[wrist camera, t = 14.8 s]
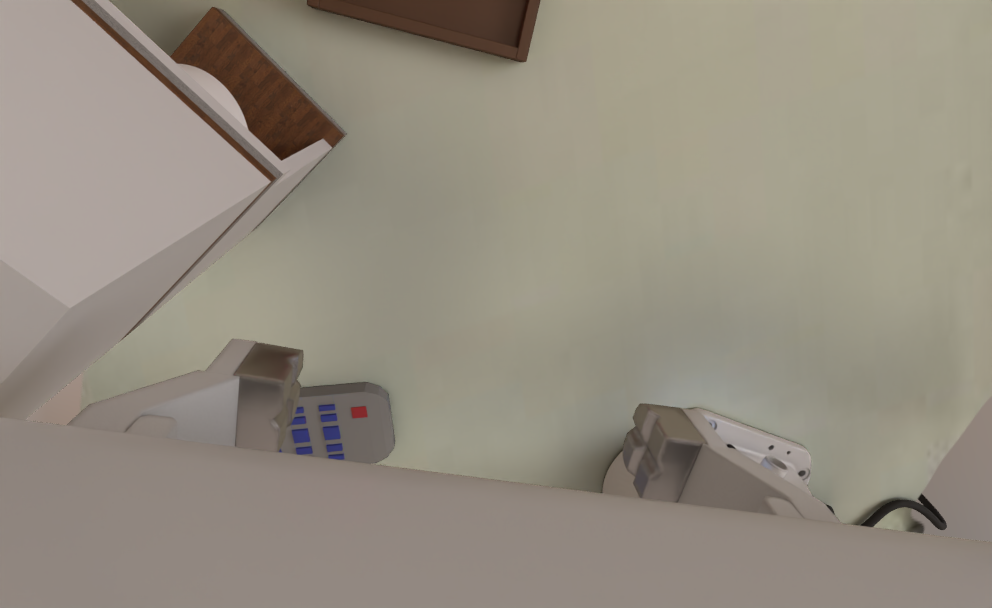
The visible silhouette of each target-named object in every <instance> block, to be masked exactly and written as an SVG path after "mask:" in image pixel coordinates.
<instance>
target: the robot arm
mask: <svg viewBox="0 0 992 608" xmlns="http://www.w3.org/2000/svg"><path fill="white" fill-rule="evenodd" d="M303 358H304V353H303V350H300V349H294V348H288V347H282V346H277V345H271V344H265V343H257V342H256V341H249V340H241V339H232V340H231V341H230V342H229V343H228V344H227V345H226V347H225V348H224V349H223V350H222V351H221V353H220V354H219V355H218V356H217V357H216V359H215V360H214V361H213V362H212V363H211V365H210V366H209V367H208V368H207V370H206V371H199V370H197V371H194V372H191V373H188V374H185V375H182V376H178V377H175V378H172V379H169V380H166V381H163V382H159V383H156V384H153V385H150V386H147V387H144V388H140V389H137V390H134V391H131V392H128V393H125V394H121V395H118V396H115V397H112V398H109V399H106V400H102V401H99V402H96V403H93V404H90V405H88V406H87V407H86V408H85V409H83V410H82V411H81V412H80V413H79V414H78V415H77V416H76V417H75V418H74V419H72V420H71V421H70V422H69V423H68V424H67V425H59V424H51V423H43V422H35V421H27V420H19V419H11V418H3V417H0V608H992V542H987V541H978V540H969V539H961V538H952V537H944V536H936V535H929V534H921V533H913V532H905V531H898V530H890V529H882V528H874V527H873V526H874V525H875V524H876V523H877V522H879V521H880V520H881V519H882V518H883V517H884V516H885V515H887V514H888V513H889V512H891V511H893V510H895V509H897V508H901V507H908V508H912V509H915V510H917V511H918V512H920V513H921V514H923V515H924V516H925V517H926V518H927V519H929V520H930V521H931V522H932V523H933V524H934V525H935V527H937V528H938V529H940V530H945V529H946V527H947V525H946V522H945V520H944V518H943V517H942V516H941V514H940V513H939V512H938V511H937V509H936V508H935V507H934V506H933V505H932V504H931V503H930V502H929V501H928V499H926V497H925V496H924V495H923V494H922V493H921V495H920V496H919V497H918V500H919V501H920V502H921V503H922V504H923V505H921V504H919V503H917V502H914V501H911V500H895V501H891V502H889V503H887V504H885V505H884V506H882V507H881V508H879V509H878V510H877V511H876V512H875V513H874V514H873V515H871V516H870V517H869V518H868V519H867V520H866V521H865V522H864V523H863V524H861V525H860V526H858V525H850V524H842V523H841V522H840V521H839V520H838V518H837V517H836V516H835V514H834V511H833V509H832V507H831V506H829V505H825V504H824V503H823V502H822V501H820V500H818V499H817V498H815V497H814V496H813V495H812V493H811V491H810V490H809V488H808V487H807V486H808V483H809V479H810V474H811V457H810V453H809V452H808V451H807V449H806V448H805V447H803V446H801V445H799V444H796V443H794V442H791V441H788V440H786V439H783V438H780V437H777V436H775V435H772V434H769V433H767V432H764V431H761V430H758V429H756V428H753V427H750V426H748V425H745V424H742V423H739V422H737V421H734V420H731V419H729V418H726V417H723V416H720V415H718V414H715V413H712V412H710V411H707V410H704V409H701V408H694V409H681V408H676V407H668V406H661V405H653V404H639V406H638V407H637V408H636V410H635V413H634V416H633V420H634V423H635V427H634V428H633V429H631V430H630V431H629V432H628V433H627V435H626V438H625V441H624V444H623V451H622V452H621V453H620V454H619V455H618V456H617V457H616V458H615V460H614V461H613V463H612V464H611V466H610V467H609V469H608V471H607V474H606V476H605V479H604V483H603V490H602V493H596V492H588V491H580V490H572V489H564V488H556V487H549V486H541V485H533V484H525V483H517V482H509V481H501V480H494V479H486V478H478V477H470V476H462V475H454V474H446V473H439V472H431V471H423V470H415V469H407V468H399V467H391V466H384V465H376V464H368V463H360V462H352V461H344V460H336V459H329V458H321V457H313V456H305V455H297V454H289V453H281V452H279V450H280V448H281V446H282V444H283V442H284V439H285V436H286V428H287V427H288V426H290V425H291V424H292V421H293V419H294V416H295V413H296V409H297V406H298V400H299V395H300V387H301V385H300V383H299V382H298V380H297V379H298V377H299V375H300V373H301V370H302V368H303Z"/></svg>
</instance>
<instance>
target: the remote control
mask: <svg viewBox="0 0 992 608" xmlns="http://www.w3.org/2000/svg"><path fill="white" fill-rule="evenodd" d="M394 446H395V437H394V429H393V422H392V415H391V408H390V401H389V394H388V393H387V392H385V391H384V390H383V389H382V388H381V387H380V386H377V385H374V384H371V383H368V382H362V383H350V384H339V385H328V386H316V387H305V388H300V395H299V400H298V406H297V409H296V413H295V416H294V419H293V421H292V424H291V425H290V426H288V427H287V428H286V436H285V439H284V442H283V444H282V446H281V448H280V450H279V452H281V453H289V454H297V455H305V456H313V457H321V458H329V459H336V460H344V461H352V462H360V463H368V464H374V463H377V462H379V461H381V460H383V459H385V458H387V457H388V456H389V454H390V453H391V452H392V450H393V449H394Z"/></svg>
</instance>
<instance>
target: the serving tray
mask: <svg viewBox="0 0 992 608" xmlns="http://www.w3.org/2000/svg"><path fill="white" fill-rule="evenodd" d="M539 4H540V0H307V5H309V6H311V7H312V8H315V9H319V10H323V11H327V12H331V13H334V14H338V15H342V16H346V17H350V18H354V19H358V20H361V21H365V22H369V23H373V24H377V25H381V26H384V27H388V28H392V29H396V30H400V31H404V32H407V33H411V34H415V35H419V36H423V37H427V38H431V39H434V40H438V41H442V42H446V43H450V44H454V45H457V46H461V47H465V48H469V49H473V50H477V51H481V52H484V53H488V54H492V55H496V56H500V57H504V58H507V59H511V60H515V61H519V62H526V60H527V56H528V52H529V47H530V43H531V39H532V34H533V30H534V26H535V21H536V17H537V13H538V8H539Z"/></svg>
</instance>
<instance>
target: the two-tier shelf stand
mask: <svg viewBox="0 0 992 608" xmlns="http://www.w3.org/2000/svg"><path fill="white" fill-rule="evenodd" d="M346 135H347V133H346V132H345V131H344V130H343V129H342V128H341V127H340V126H339V125H338V124H337V123H336V122H335V121H334V120H333V119H332V118H331V117H330V116H329V115H328V114H327V113H326V112H325V111H324V110H323V109H322V108H321V107H320V106H319V105H318V104H317V103H316V102H315V101H314V100H313V99H312V98H311V97H310V96H309V95H308V94H307V93H306V92H305V91H304V90H303V89H302V88H301V87H300V86H299V85H298V84H297V83H296V82H295V81H294V80H293V79H292V78H291V77H290V76H289V75H288V74H287V73H286V72H285V71H284V70H283V69H282V68H281V67H280V66H279V65H278V64H277V63H276V62H275V61H274V60H273V59H272V58H271V57H270V56H269V55H268V54H267V53H266V52H265V51H264V50H263V49H262V48H261V47H260V46H259V45H258V44H257V43H256V42H255V41H254V40H253V39H252V38H251V37H250V36H249V35H248V34H247V33H246V32H245V31H244V30H243V29H242V28H241V27H240V26H239V25H238V24H237V23H236V22H235V21H234V20H233V19H232V18H231V17H230V16H229V15H228V14H227V13H226V12H225V11H224V10H222V9H218V8H215V7H212V8H211V9H210V10H209V11H208V13H207V14H206V15H205V16H204V17H203V18H202V20H201V21H200V22H199V23H198V24H197V26H196V27H195V28H194V29H193V30H192V31H191V33H190V34H189V35H188V36H187V37H186V39H185V40H184V41H183V42H182V43H181V44H180V46H179V47H178V48H177V49H176V50H175V52H174V53H173V54H172V55H171V56H170V57H169V56H168V55H167V54H166V53H165V52H164V51H163V50H162V49H161V48H160V47H158V46H157V45H156V44H155V43H154V42H153V41H152V40H151V39H150V38H149V37H148V36H147V35H146V34H144V33H143V32H142V31H141V30H140V29H139V28H138V27H137V26H136V25H135V24H134V23H133V22H132V21H130V20H129V19H128V18H127V17H126V16H125V15H124V14H123V13H122V12H121V11H120V10H119V9H118V8H117V7H115V6H114V5H113V4H112V3H111V2H110V1H109V0H0V417H3V418H11V419H19V420H26V419H27V418H28V417H29V416H31V415H32V414H33V413H34V412H36V411H37V410H38V409H39V408H40V407H42V406H43V405H44V404H45V403H46V402H48V401H49V400H50V399H51V398H52V397H54V396H55V395H56V394H57V393H58V392H60V391H61V390H62V389H63V388H64V387H66V386H67V385H68V384H69V383H70V382H72V381H73V380H74V379H75V378H76V377H78V376H79V375H80V374H81V373H82V372H84V371H85V370H86V369H87V368H88V367H90V366H91V365H92V364H93V363H94V362H96V361H97V360H98V359H99V358H100V357H102V356H103V355H104V354H105V353H106V352H108V351H109V350H110V349H111V348H113V347H114V346H115V345H116V344H117V343H119V342H120V341H121V340H122V339H123V338H125V337H126V336H127V335H128V334H129V333H131V332H132V331H133V330H134V329H135V328H137V327H138V326H139V325H140V324H141V323H143V322H144V321H145V320H146V319H147V318H149V317H150V316H151V315H152V314H153V313H155V312H156V311H157V310H158V309H159V308H161V307H162V306H163V305H164V304H165V303H167V302H168V301H169V300H170V299H171V298H173V297H174V296H175V295H176V294H177V293H179V292H180V291H181V290H182V289H183V288H185V287H186V286H187V285H188V284H189V283H191V282H192V281H193V280H194V279H195V278H197V277H198V276H199V275H200V274H202V273H203V272H204V271H205V270H206V269H208V268H209V267H210V266H211V265H212V264H214V263H215V262H216V261H217V260H218V259H220V258H221V257H222V256H223V255H224V254H226V253H227V252H228V251H229V250H230V249H232V248H233V247H234V246H235V245H236V244H238V243H239V242H240V241H241V240H242V239H244V238H245V237H246V236H247V235H248V234H250V233H251V232H252V231H253V230H254V229H256V228H257V227H258V226H259V225H260V224H261V223H262V222H263V221H264V220H265V219H266V218H267V217H268V216H269V214H270V213H271V212H272V211H273V210H274V209H275V208H276V207H277V206H278V205H279V204H280V203H281V202H282V201H283V200H284V199H285V198H286V197H287V196H288V195H289V194H290V193H291V192H292V191H293V190H294V189H295V188H296V186H297V185H298V184H299V183H300V182H301V181H302V180H303V179H304V178H305V177H306V176H307V175H308V174H309V173H310V172H311V171H312V170H313V169H314V168H315V167H316V166H317V165H318V164H319V163H320V162H321V161H322V159H323V158H324V157H325V156H326V155H327V154H328V153H329V152H330V151H331V150H332V149H333V148H334V147H335V146H336V145H337V144H338V143H339V142H340V141H341V140H342V139H343V138H344V137H345V136H346Z"/></svg>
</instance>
